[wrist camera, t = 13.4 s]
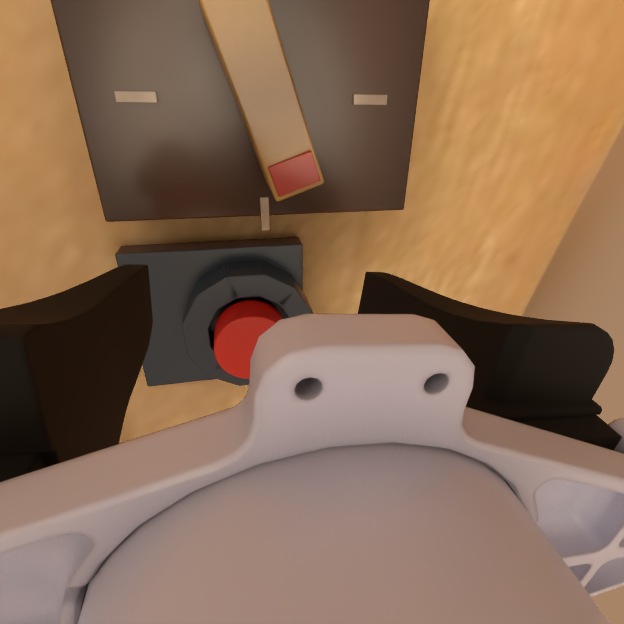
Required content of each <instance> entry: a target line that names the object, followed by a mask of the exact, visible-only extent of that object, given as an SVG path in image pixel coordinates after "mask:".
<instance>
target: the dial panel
mask: <svg viewBox="0 0 624 624" xmlns="http://www.w3.org/2000/svg"><path fill="white" fill-rule="evenodd" d="M429 1H430V0H269V3H270V6H271V9H272V13H273V16H274V19H275V22H276V26H277V29H278V32H279V36H280V39H281V42H282V45H283V49H284V52H285V55H286V58H287V62H288V65H289V68H290V71H291V75H292V78H293V81H294V84H295V88H296V91H297V94H298V97H299V101H300V104H301V107H302V111H303V114H304V117H305V120H306V124H307V127H308V130H309V133H310V137H311V140H312V143H313V146H314V150H315V153H316V156H317V159H318V163H319V166H320V169H321V173H322V176H323V179H324V183H323V184H321V185H319V186H316V187H314V188H311V189H309V190H306V191H304V192H301V193H299V194H296V195H294V196H291V197H289V198H286V199H284V200H281V201H276V200H275V198H274V196H273V194H272V192H271V190H270V188H269V186H268V184H267V182H266V180H265V177H264V175H263V172H262V170H261V167H260V164H259V162H258V159H257V157H256V154H255V151H254V149H253V146H252V144H251V141H250V139H249V136H248V133H247V131H246V128H245V126H244V123H243V120H242V118H241V115H240V113H239V110H238V107H237V105H236V102H235V100H234V97H233V95H232V92H231V89H230V87H229V84H228V82H227V79H226V76H225V74H224V71H223V69H222V66H221V63H220V61H219V58H218V56H217V53H216V50H215V48H214V45H213V43H212V40H211V38H210V35H209V32H208V30H207V27H206V25H205V22H204V19H203V17H202V14H201V10H200V6H199V3H198V0H51V4H52V8H53V12H54V16H55V20H56V24H57V28H58V32H59V36H60V40H61V44H62V48H63V52H64V56H65V60H66V64H67V68H68V72H69V76H70V80H71V84H72V88H73V92H74V96H75V100H76V104H77V108H78V112H79V116H80V120H81V124H82V128H83V132H84V136H85V140H86V144H87V148H88V152H89V156H90V160H91V164H92V168H93V172H94V176H95V180H96V184H97V188H98V192H99V196H100V200H101V204H102V208H103V212H104V216H105V220H106V221H107V222H114V221H138V220H163V219H187V218H212V217H236V216H261V229H262V230H270V220H269V215H285V214H309V213H334V212H358V211H383V210H402V209H404V202H405V194H406V186H407V178H408V170H409V162H410V154H411V146H412V138H413V130H414V122H415V113H416V105H417V97H418V89H419V81H420V73H421V65H422V57H423V49H424V41H425V33H426V25H427V17H428V9H429Z"/></svg>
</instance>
